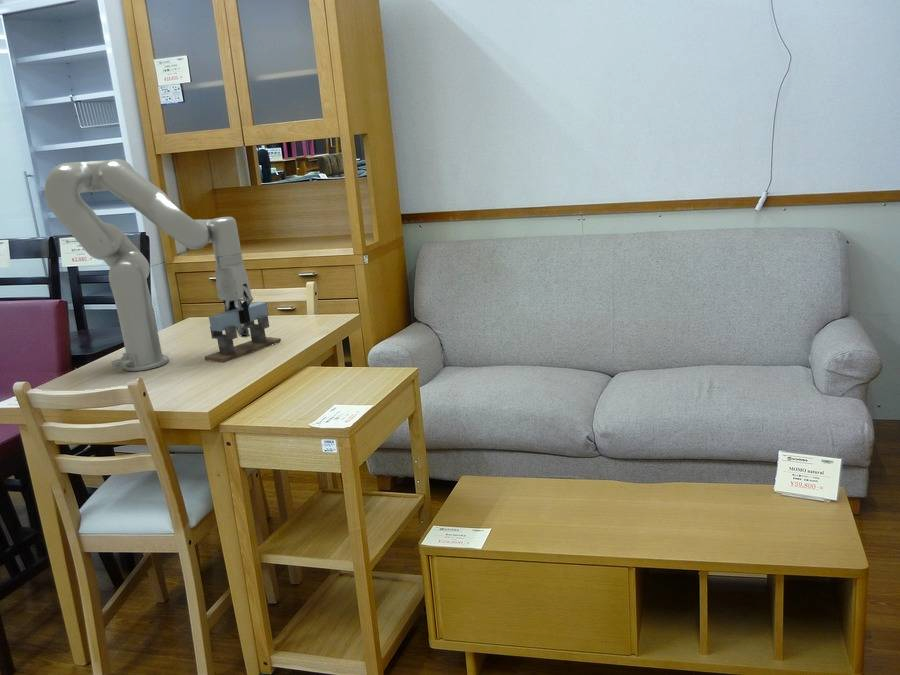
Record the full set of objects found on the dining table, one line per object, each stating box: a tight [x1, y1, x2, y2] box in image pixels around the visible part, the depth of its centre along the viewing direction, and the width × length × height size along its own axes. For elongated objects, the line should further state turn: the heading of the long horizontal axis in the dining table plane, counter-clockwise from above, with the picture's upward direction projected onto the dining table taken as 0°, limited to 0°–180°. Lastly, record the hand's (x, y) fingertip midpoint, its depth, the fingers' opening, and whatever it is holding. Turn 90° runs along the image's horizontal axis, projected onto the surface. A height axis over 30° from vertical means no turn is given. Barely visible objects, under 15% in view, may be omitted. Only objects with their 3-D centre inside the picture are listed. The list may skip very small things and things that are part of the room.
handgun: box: [224, 301, 250, 336], centre depth 270 cm, size 31×3×15 cm, turn 25°
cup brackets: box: [204, 315, 282, 363], centre depth 238 cm, size 22×8×9 cm, turn 144°
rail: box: [208, 301, 269, 332], centre depth 237 cm, size 18×4×4 cm, turn 144°
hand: (240, 321), depth 237 cm, fingers closed on rail, 4 cm apart
